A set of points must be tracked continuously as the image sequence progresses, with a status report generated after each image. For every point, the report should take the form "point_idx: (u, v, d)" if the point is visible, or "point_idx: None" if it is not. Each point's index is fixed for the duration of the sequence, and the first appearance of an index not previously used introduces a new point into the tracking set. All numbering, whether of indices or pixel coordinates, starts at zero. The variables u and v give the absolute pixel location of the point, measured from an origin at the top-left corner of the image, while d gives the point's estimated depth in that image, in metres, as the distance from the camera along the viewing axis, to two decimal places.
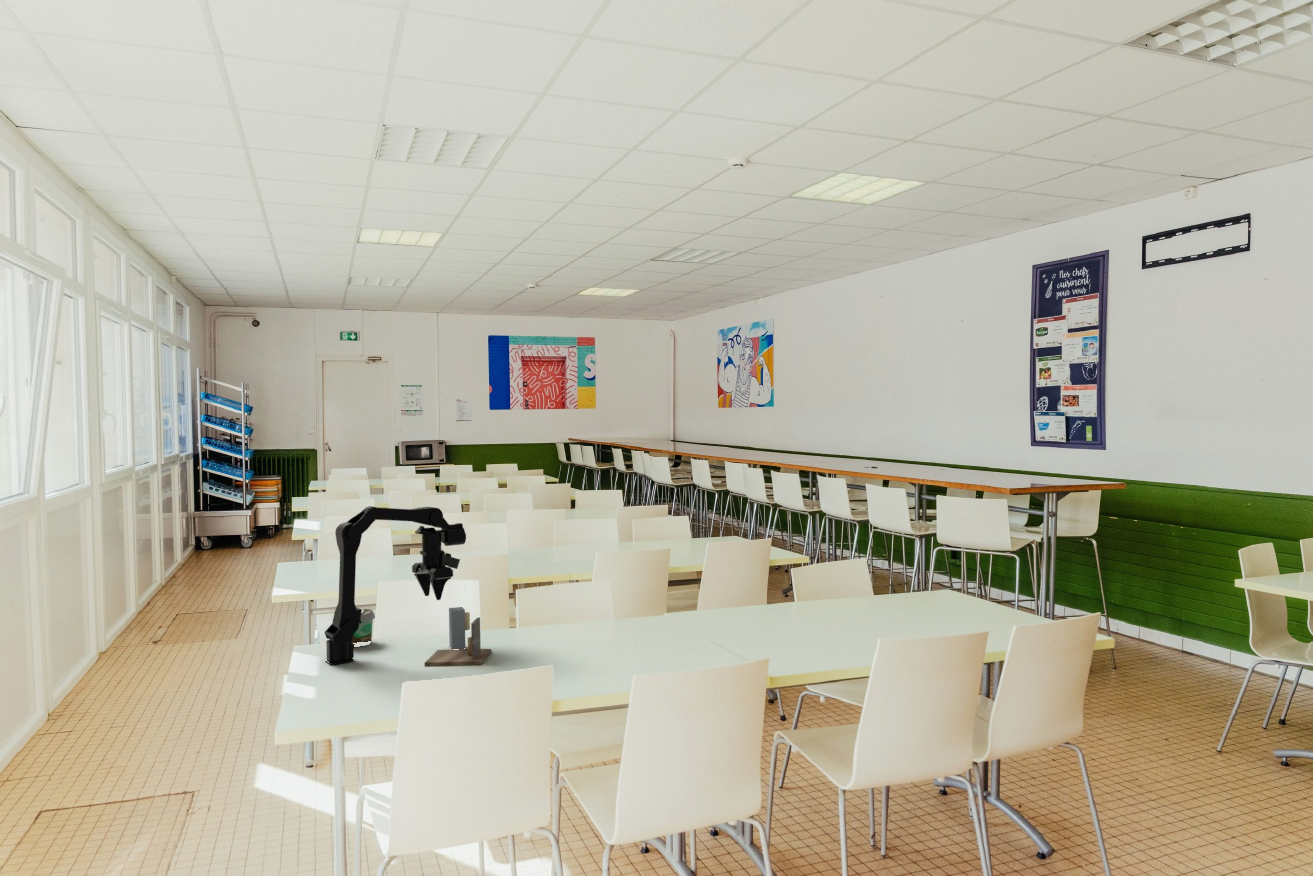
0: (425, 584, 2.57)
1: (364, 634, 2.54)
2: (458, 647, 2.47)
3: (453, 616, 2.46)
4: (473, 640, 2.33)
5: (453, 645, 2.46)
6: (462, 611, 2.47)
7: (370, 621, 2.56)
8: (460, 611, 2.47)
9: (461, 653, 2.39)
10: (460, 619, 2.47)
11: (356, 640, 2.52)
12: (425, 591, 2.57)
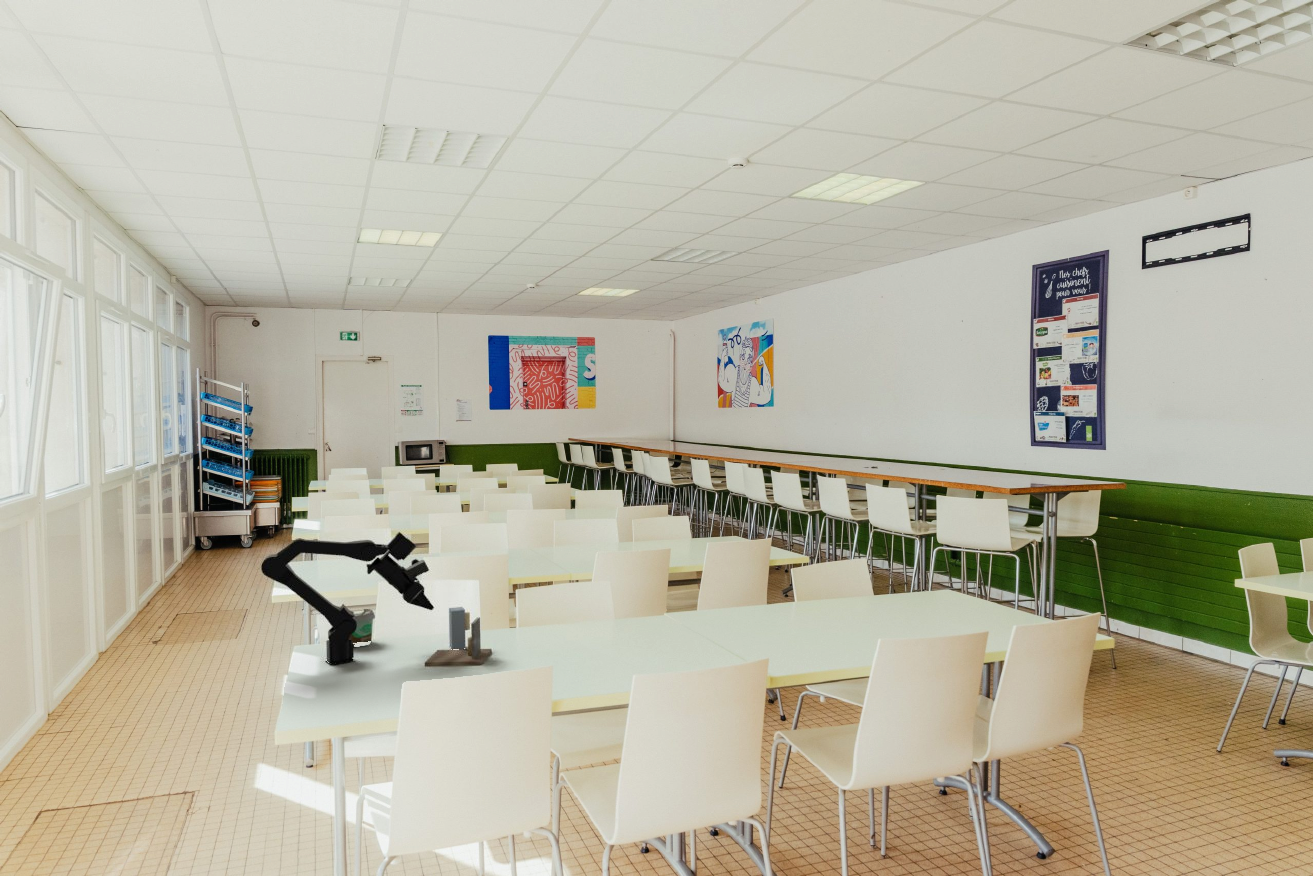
0: None
1: (364, 634, 2.54)
2: (458, 647, 2.47)
3: (453, 616, 2.46)
4: (473, 640, 2.33)
5: (453, 645, 2.46)
6: (462, 611, 2.47)
7: (370, 621, 2.56)
8: (460, 611, 2.47)
9: (461, 653, 2.39)
10: (461, 619, 2.47)
11: (356, 640, 2.52)
12: None
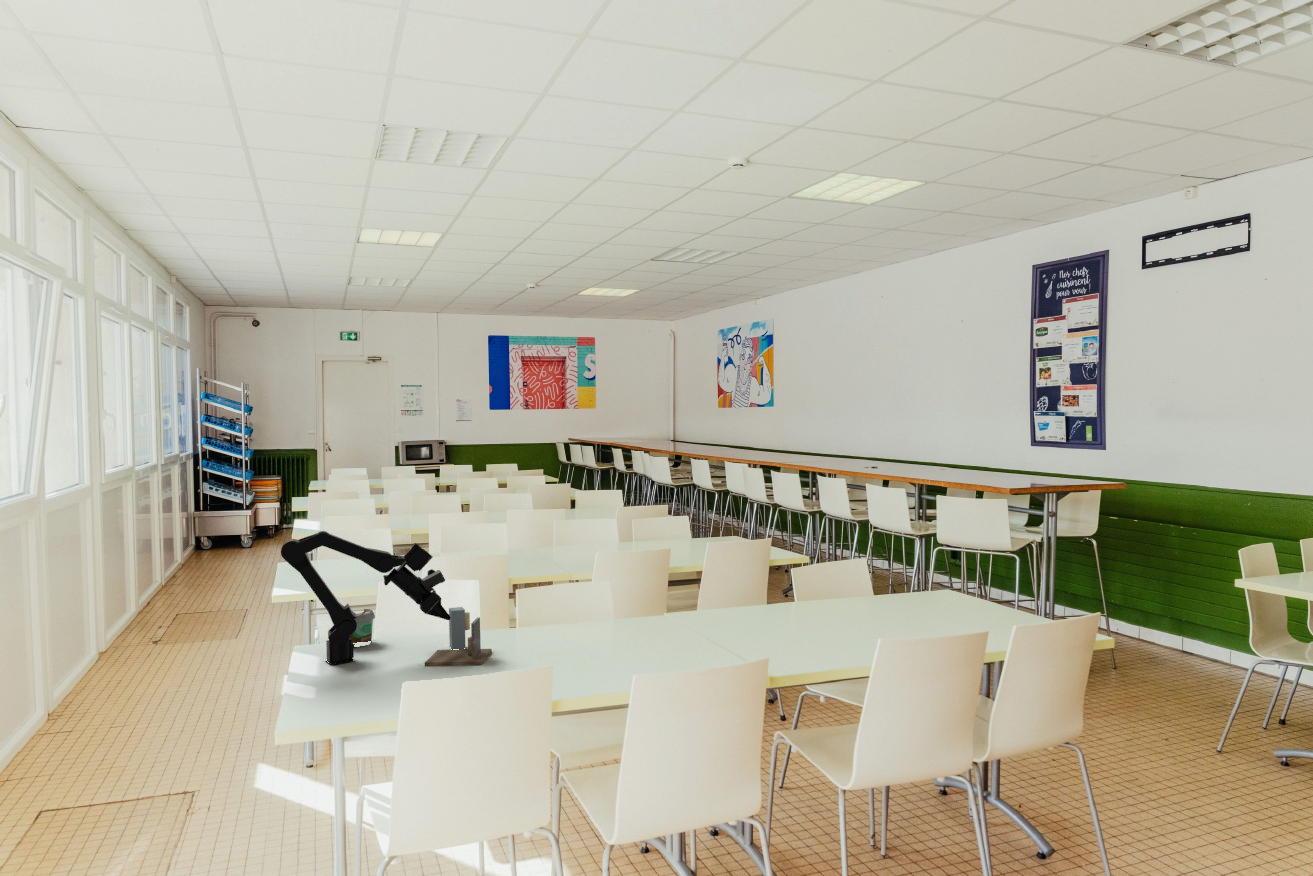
0: None
1: (364, 634, 2.54)
2: (458, 647, 2.47)
3: (453, 616, 2.46)
4: (473, 640, 2.33)
5: (453, 645, 2.46)
6: (462, 611, 2.47)
7: (370, 621, 2.56)
8: (460, 611, 2.47)
9: (461, 653, 2.39)
10: (461, 619, 2.47)
11: (356, 640, 2.52)
12: None
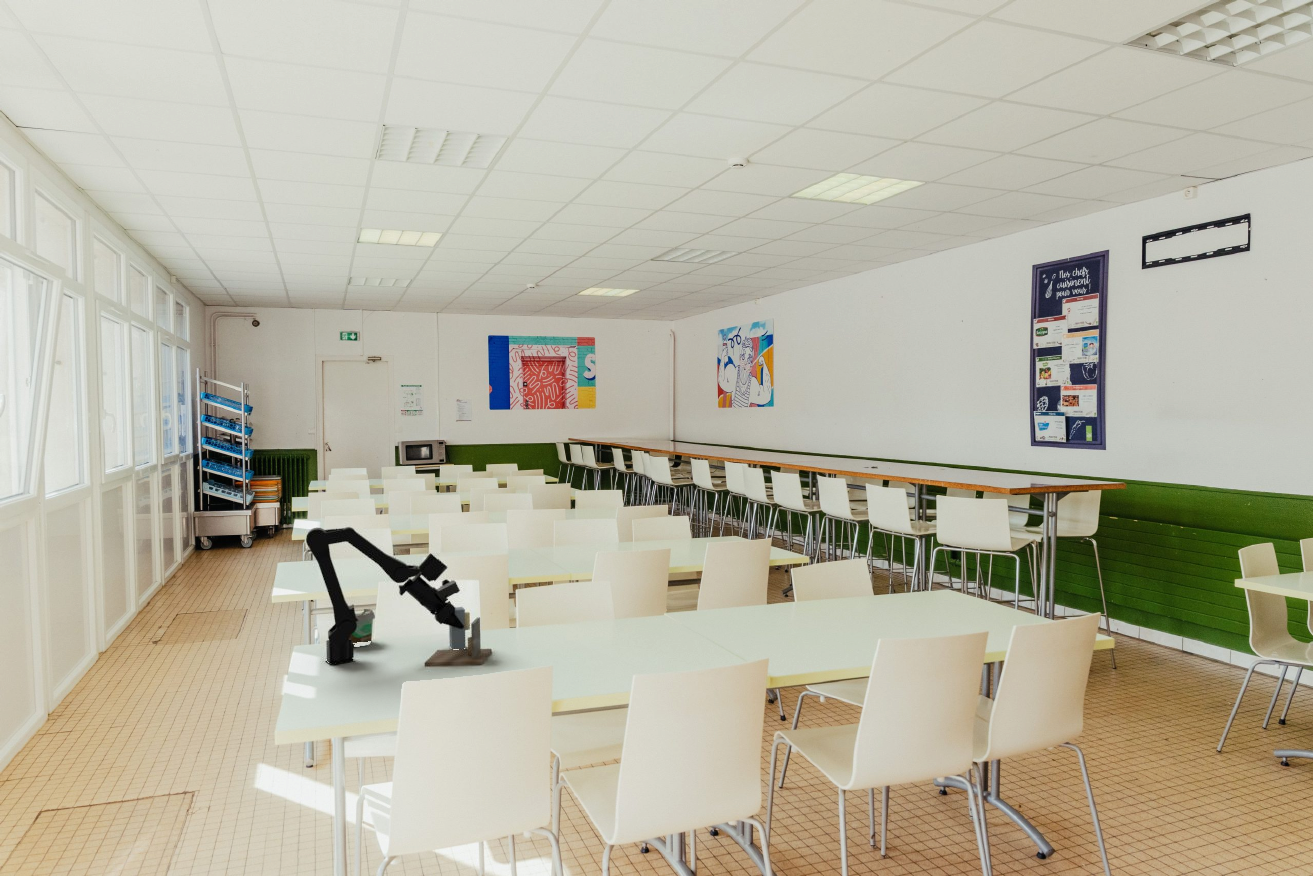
0: None
1: (364, 634, 2.54)
2: (458, 647, 2.47)
3: None
4: (473, 640, 2.33)
5: (453, 645, 2.46)
6: (462, 611, 2.47)
7: (370, 621, 2.56)
8: (460, 611, 2.47)
9: (461, 653, 2.39)
10: (461, 619, 2.47)
11: (356, 640, 2.52)
12: None
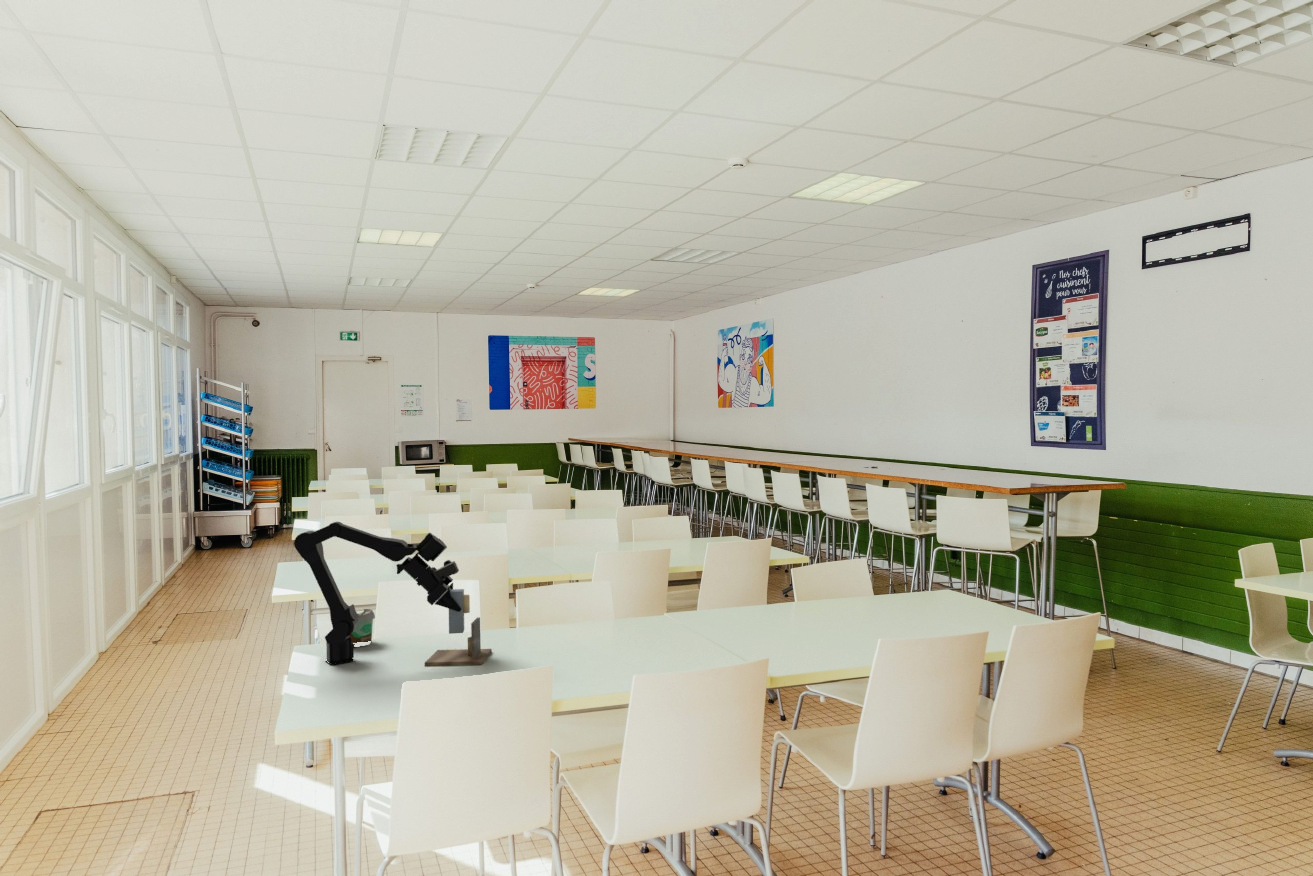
0: None
1: (364, 634, 2.54)
2: (455, 630, 2.39)
3: None
4: (473, 640, 2.33)
5: (450, 628, 2.39)
6: (460, 593, 2.39)
7: (370, 621, 2.56)
8: (458, 593, 2.39)
9: (461, 653, 2.39)
10: (458, 601, 2.39)
11: (356, 640, 2.52)
12: None
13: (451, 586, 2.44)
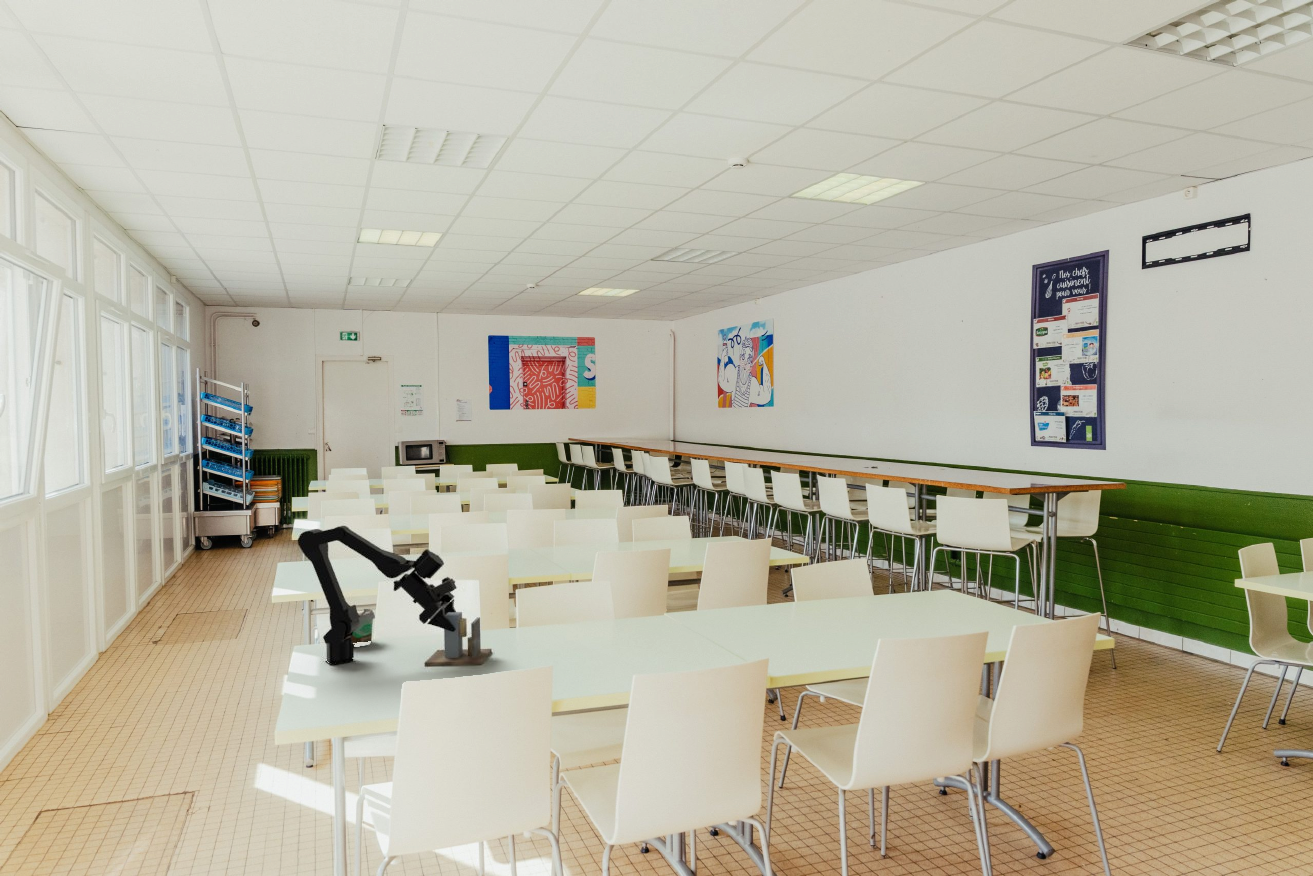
0: None
1: (364, 634, 2.54)
2: (451, 654, 2.34)
3: None
4: (473, 640, 2.33)
5: (446, 652, 2.34)
6: (455, 617, 2.34)
7: (370, 621, 2.56)
8: (453, 617, 2.34)
9: None
10: (453, 625, 2.34)
11: (356, 640, 2.52)
12: None
13: (451, 603, 2.41)
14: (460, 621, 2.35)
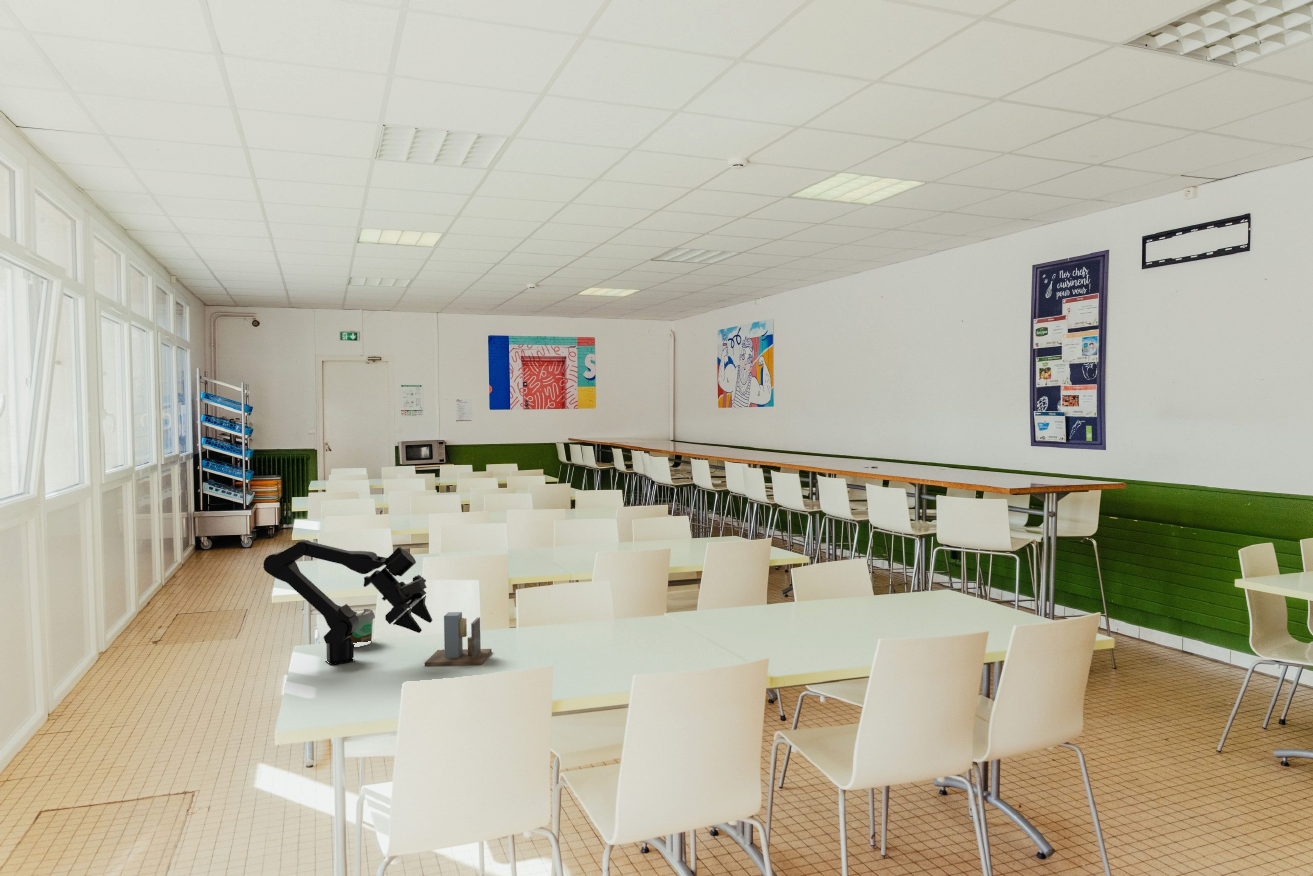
0: (422, 613, 2.42)
1: (364, 634, 2.54)
2: (451, 654, 2.34)
3: (446, 621, 2.34)
4: (473, 640, 2.33)
5: (446, 652, 2.34)
6: (455, 617, 2.34)
7: (370, 621, 2.56)
8: (453, 617, 2.34)
9: None
10: (453, 625, 2.34)
11: (356, 640, 2.52)
12: (426, 619, 2.42)
13: (422, 600, 2.42)
14: (460, 621, 2.35)
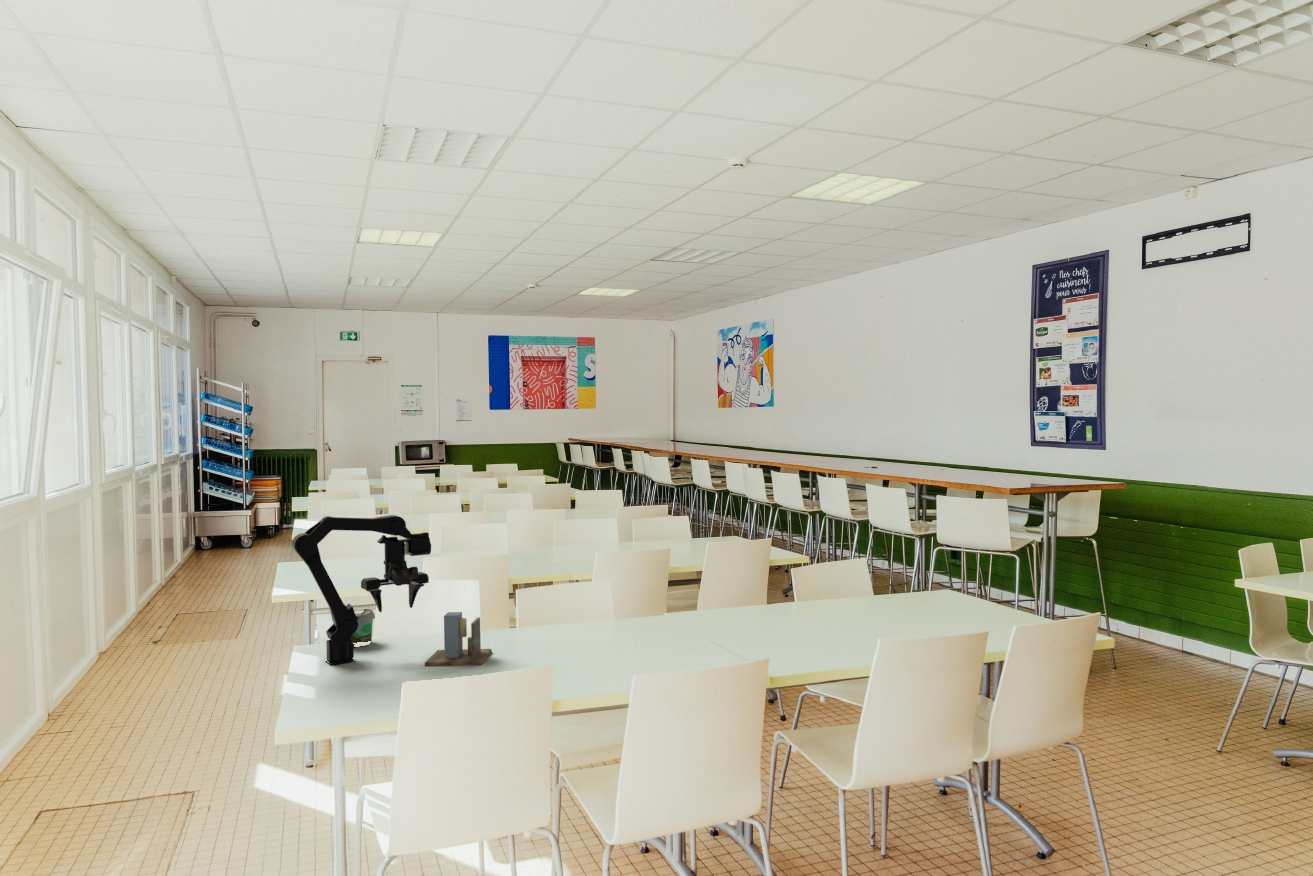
0: (411, 595, 2.48)
1: (364, 634, 2.54)
2: (451, 654, 2.34)
3: (446, 621, 2.34)
4: (473, 640, 2.33)
5: (446, 652, 2.34)
6: (455, 617, 2.34)
7: (370, 621, 2.56)
8: (453, 617, 2.34)
9: None
10: (453, 625, 2.34)
11: (356, 640, 2.52)
12: (409, 602, 2.48)
13: (414, 586, 2.46)
14: (460, 621, 2.35)
